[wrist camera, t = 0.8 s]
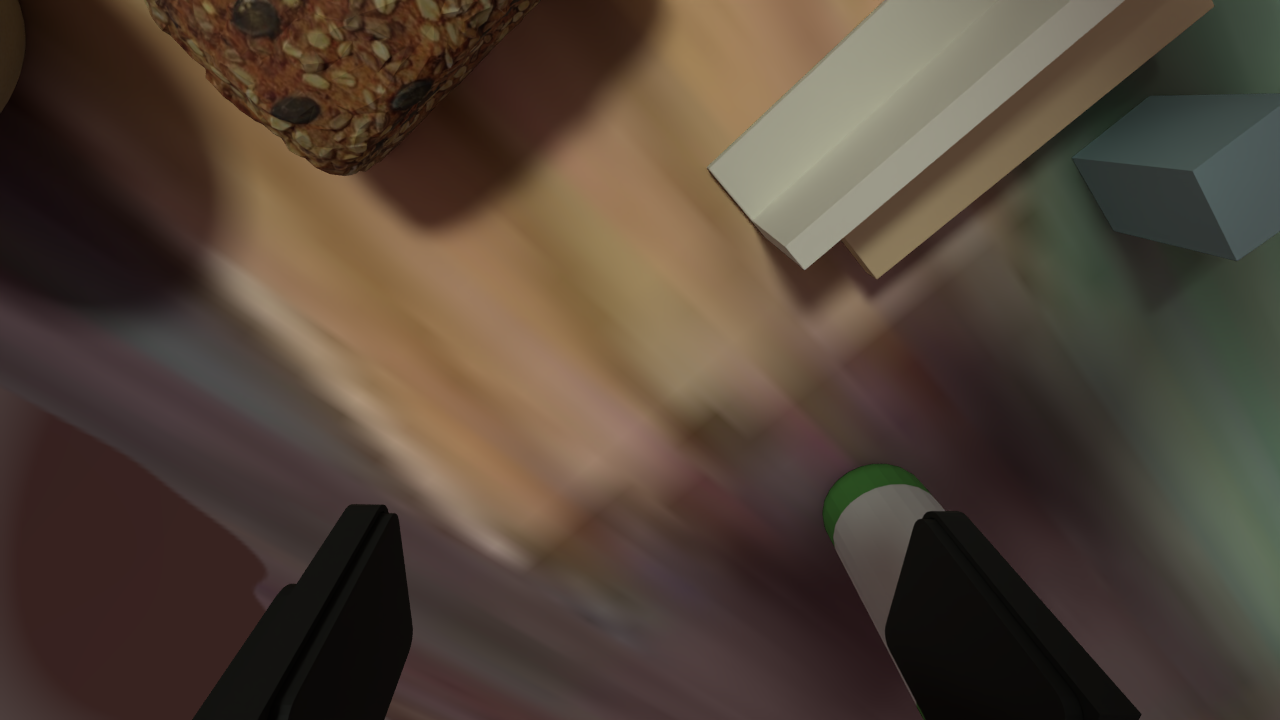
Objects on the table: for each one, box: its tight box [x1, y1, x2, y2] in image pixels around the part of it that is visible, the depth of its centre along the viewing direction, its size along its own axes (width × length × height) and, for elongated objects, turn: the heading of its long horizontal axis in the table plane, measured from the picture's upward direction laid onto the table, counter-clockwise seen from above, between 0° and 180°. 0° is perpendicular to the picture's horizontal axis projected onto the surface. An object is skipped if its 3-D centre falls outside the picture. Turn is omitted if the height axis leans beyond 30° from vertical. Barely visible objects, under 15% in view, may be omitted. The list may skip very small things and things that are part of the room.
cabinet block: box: [1072, 93, 1280, 261], centre depth 32 cm, size 7×5×8 cm
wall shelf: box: [707, 0, 1214, 279], centre depth 30 cm, size 11×26×8 cm, turn 133°
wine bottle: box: [823, 464, 945, 720], centre depth 31 cm, size 8×8×30 cm
